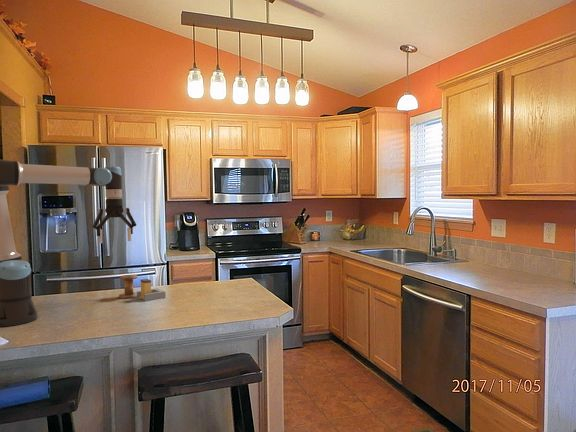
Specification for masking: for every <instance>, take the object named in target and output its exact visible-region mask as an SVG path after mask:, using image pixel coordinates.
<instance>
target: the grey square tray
mask: <svg viewBox="0 0 576 432" xmlns="http://www.w3.org/2000/svg"><path fill="white" fill-rule="evenodd" d="M136 293H137V297H136V298H137V299H142V298H141V290H137V291H136ZM166 295H167V294H166V291H165V290H164V289H163V290H162V289H160V288H157V287H156V288H151V293H149V294H144V299H143V301H144V302H149V301H155V300H159V299H160V300H161V299H165V298H166Z"/></svg>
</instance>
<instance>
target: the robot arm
mask: <svg viewBox="0 0 576 432" xmlns="http://www.w3.org/2000/svg"><path fill="white" fill-rule="evenodd" d="M122 176H123V175H122V168H121V167H120V166H115V165H113V166H112V165H108V166H105V167H86V166H85V167H83V166H68V165H67V166H66V165H50V164H49V165H45V164H28V163H21V162H19V161H18V160H7V159H0V327H10V326H17V325H18V326H19V325H23V324H28V323H30V322H33V321H36V320H37V319H38V316H39V315H38V310H37V308H36V305H35V304H34V301H33V299H32V297H33V295H32V268H31V264H30V263H29V262H28V261H26V260H23V258H22V254H21V253H19V252H18V251H17V250H16V244H15V238H14V232H13V227H12V221H11V217H10V210H9V206H8V201H7V195H8V193H9V192H10V187H9V186H19V185H20V184H43V185H45V184H48V185H49V184H50V185H52V184H53V185H78V186H81V187H82V186H83V187H105V189H104V190H105V198H106V199H105V208H99V209H98V214H96V215H97V216H96V218H95V220H94V222H93V224H92V229H95V230H96V237H98V243H99V244H103V229H102V228H103V226H104V225H105V223H107V221H108V220H109V219H110V218H120V219H121V220H122V221H123V222H124V223H125V224H126V225H127V226H128V227H127V229H126V230H127V231H126V232H127V241H128V242H131V241H132V235H133V233H134V232H133V231H134V230H133V229H134V228H135V227H136V226H137V223H136V221H135V219H134V217H133V215H132V214H131V212H130V208H129V207H125V208H124V207H123V205H124V204H123V182H122V180H123V178H122ZM104 213H105V216H104V217H103V214H104ZM123 213H125V214H126V216H127V218H128V219H127V218H126V217H125V214H123ZM102 217H103V218H102ZM101 218H102V220H101Z"/></svg>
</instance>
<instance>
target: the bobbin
mask: <svg viewBox="0 0 576 432" xmlns="http://www.w3.org/2000/svg"><path fill="white" fill-rule="evenodd" d="M137 278H138V275H137V274H125V275H120V276H119V280H122V281H123V282H124V283H123V285H124V293H120V294H118V298H119V299H122V300H123V299H124V300H126V299H135V298H137V292H135V291H134V280H135V279H137Z"/></svg>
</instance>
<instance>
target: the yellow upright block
mask: <svg viewBox="0 0 576 432" xmlns="http://www.w3.org/2000/svg"><path fill="white" fill-rule="evenodd" d="M151 289H152V280H150V279H148V278H142V279H140V291H141V298H140V299H142V300H144V294H149V293H151Z"/></svg>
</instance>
